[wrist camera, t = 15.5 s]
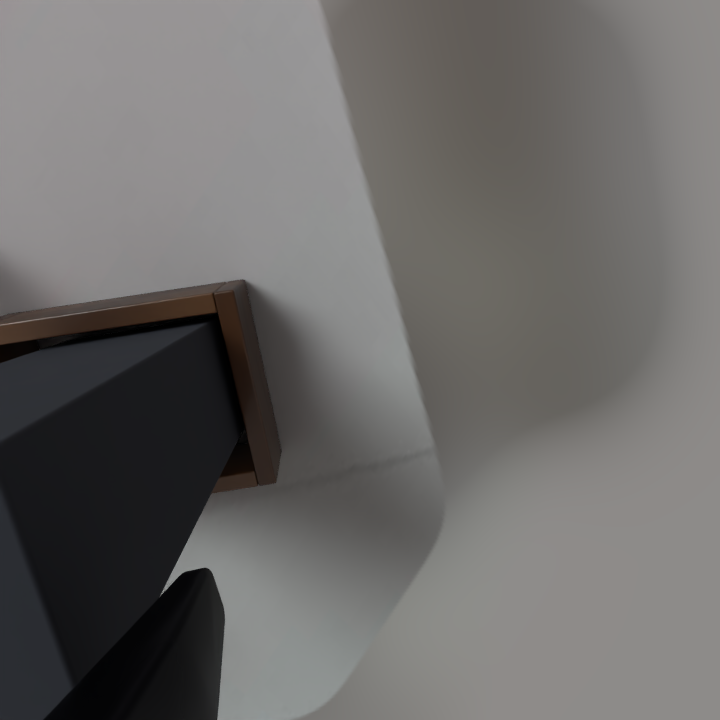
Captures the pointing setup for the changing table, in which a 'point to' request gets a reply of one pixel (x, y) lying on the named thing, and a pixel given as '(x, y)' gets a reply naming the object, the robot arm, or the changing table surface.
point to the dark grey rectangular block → (101, 492)
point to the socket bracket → (227, 298)
